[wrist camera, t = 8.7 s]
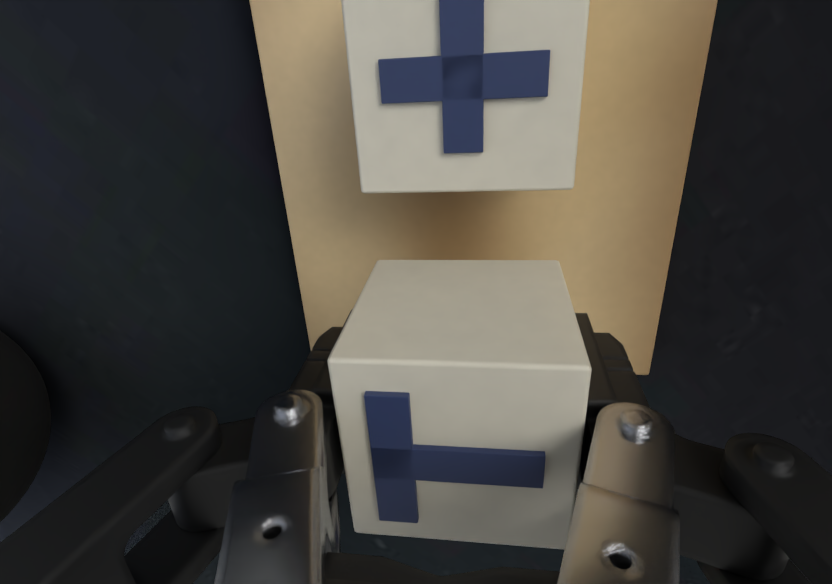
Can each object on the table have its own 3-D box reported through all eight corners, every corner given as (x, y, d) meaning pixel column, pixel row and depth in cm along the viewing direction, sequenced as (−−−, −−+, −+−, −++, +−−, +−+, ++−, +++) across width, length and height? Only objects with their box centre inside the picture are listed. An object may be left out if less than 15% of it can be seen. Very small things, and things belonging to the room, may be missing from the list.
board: (799, -555, 9) (833, -618, 8) (641, 359, 18) (649, 375, 17) (191, -427, 11) (165, -468, 10) (320, 350, 20) (312, 364, 19)
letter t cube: (559, 258, 12) (594, 372, 8) (547, 406, 14) (571, 557, 10) (376, 258, 13) (322, 363, 9) (390, 399, 15) (351, 539, 11)
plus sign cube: (562, -40, 12) (598, -79, 8) (551, 147, 14) (575, 192, 10) (382, -26, 13) (332, -55, 9) (395, 152, 15) (359, 196, 11)
